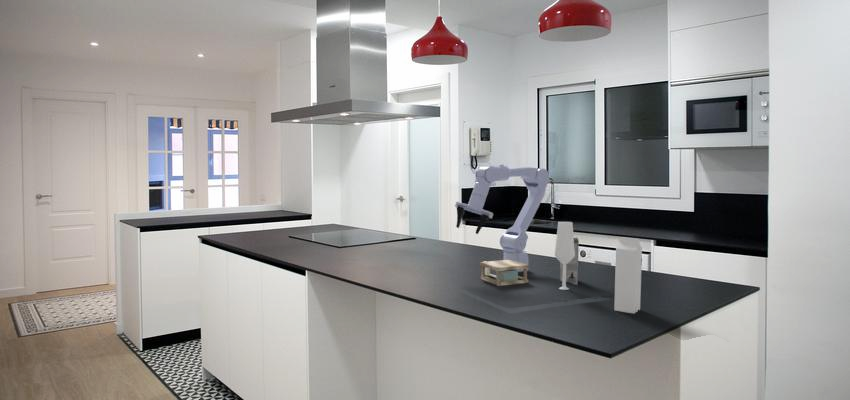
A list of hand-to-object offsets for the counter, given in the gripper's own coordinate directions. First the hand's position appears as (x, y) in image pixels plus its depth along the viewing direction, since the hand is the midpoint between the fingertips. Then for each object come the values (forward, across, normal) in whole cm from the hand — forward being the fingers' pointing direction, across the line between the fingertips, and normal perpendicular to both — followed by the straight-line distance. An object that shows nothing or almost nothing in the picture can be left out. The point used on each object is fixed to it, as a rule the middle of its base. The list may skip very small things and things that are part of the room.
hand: (467, 230), depth 214 cm
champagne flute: (+11, +40, -6) cm, 42 cm away
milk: (+11, +59, -25) cm, 65 cm away
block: (+13, +16, +4) cm, 21 cm away
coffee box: (+6, +41, +10) cm, 42 cm away
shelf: (+14, +16, +4) cm, 22 cm away
